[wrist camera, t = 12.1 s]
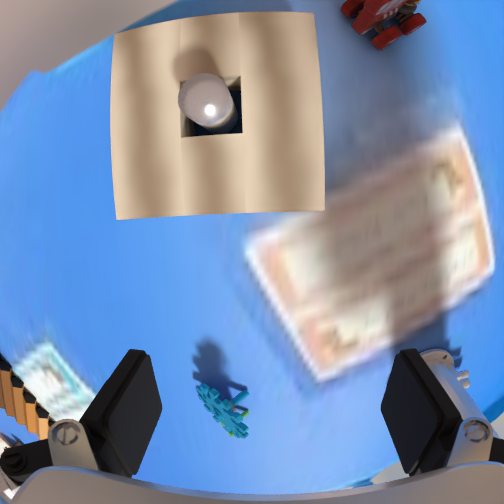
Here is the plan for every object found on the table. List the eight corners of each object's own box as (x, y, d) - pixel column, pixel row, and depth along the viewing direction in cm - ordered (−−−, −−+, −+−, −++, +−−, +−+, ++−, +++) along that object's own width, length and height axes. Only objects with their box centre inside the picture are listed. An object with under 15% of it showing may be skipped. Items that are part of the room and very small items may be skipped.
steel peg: (237, 98, 29) (228, 71, 20) (238, 132, 30) (229, 118, 21) (200, 100, 29) (177, 76, 20) (201, 135, 31) (178, 123, 21)
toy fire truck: (425, 25, 25) (465, -3, 15) (366, 59, 27) (403, 27, 17) (390, -12, 23) (422, -48, 13) (327, 18, 26) (349, -26, 16)
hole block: (305, 35, 27) (313, 13, 21) (313, 202, 32) (324, 211, 27) (135, 50, 27) (114, 33, 22) (138, 210, 33) (116, 219, 27)
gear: (185, 376, 38) (233, 416, 31) (217, 354, 41) (268, 387, 35) (205, 419, 42) (248, 454, 35) (231, 399, 46) (275, 429, 39)
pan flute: (-18, 322, 40) (-10, 387, 47) (-28, 329, 37) (-17, 394, 44) (68, 392, 43) (62, 443, 50) (61, 402, 40) (57, 452, 47)
